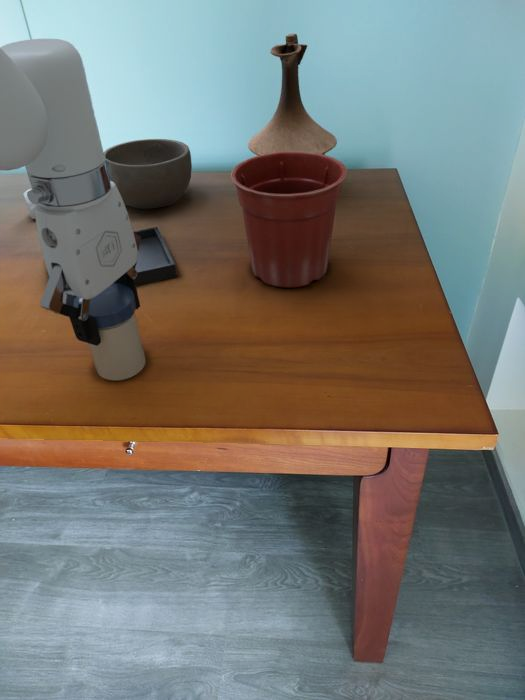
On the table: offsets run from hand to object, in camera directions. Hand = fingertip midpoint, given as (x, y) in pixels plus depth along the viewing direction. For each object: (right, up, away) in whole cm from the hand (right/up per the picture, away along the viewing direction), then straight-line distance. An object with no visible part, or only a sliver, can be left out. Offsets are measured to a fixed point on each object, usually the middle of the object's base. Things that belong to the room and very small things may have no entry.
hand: (109, 322), depth 64 cm
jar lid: (0, +2, -2) cm, 3 cm away
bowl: (-4, +27, +44) cm, 52 cm away
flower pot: (+23, +10, +21) cm, 33 cm away
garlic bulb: (-24, +23, +40) cm, 52 cm away
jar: (0, -5, +4) cm, 7 cm away
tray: (-6, +10, +23) cm, 26 cm away
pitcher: (+25, +29, +44) cm, 58 cm away
